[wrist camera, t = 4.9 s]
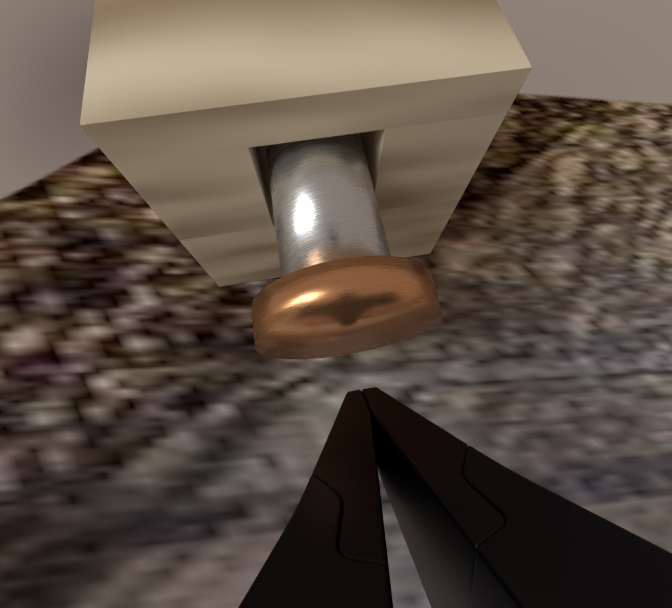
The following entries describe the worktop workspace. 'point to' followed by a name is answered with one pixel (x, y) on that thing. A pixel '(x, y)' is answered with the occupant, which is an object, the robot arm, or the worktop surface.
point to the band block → (295, 109)
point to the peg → (335, 259)
